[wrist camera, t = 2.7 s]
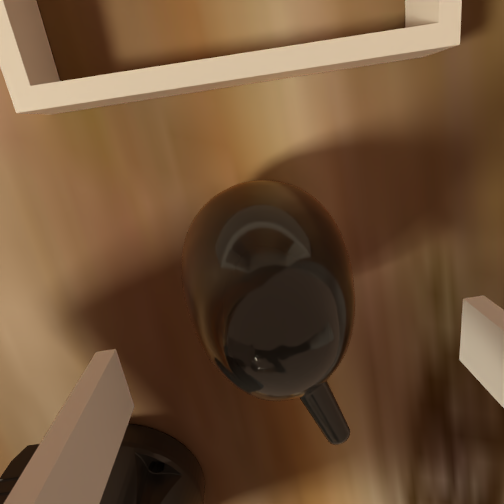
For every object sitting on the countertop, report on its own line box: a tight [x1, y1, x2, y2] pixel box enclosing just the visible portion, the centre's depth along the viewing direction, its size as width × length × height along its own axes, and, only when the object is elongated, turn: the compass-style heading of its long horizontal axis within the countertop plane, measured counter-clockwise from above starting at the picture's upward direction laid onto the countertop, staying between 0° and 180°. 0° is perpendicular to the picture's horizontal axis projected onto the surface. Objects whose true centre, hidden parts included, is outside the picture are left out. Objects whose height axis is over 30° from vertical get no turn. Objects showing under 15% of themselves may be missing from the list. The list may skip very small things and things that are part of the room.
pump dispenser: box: [181, 180, 355, 445], centre depth 20 cm, size 10×10×15 cm
